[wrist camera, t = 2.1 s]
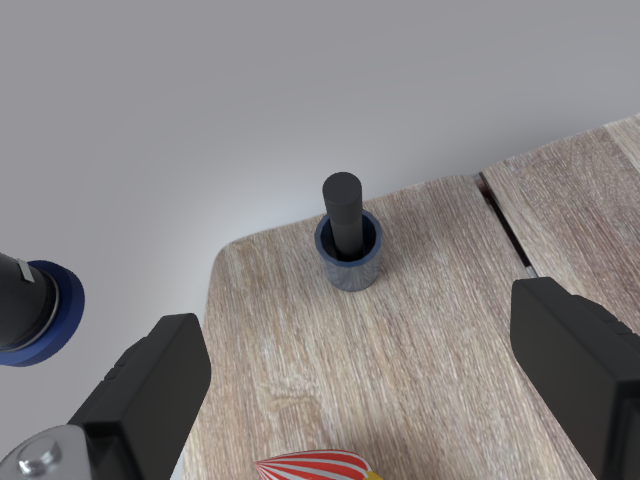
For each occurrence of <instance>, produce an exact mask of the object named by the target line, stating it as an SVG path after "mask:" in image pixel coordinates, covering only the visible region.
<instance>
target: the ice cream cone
mask: <svg viewBox="0 0 640 480" xmlns="http://www.w3.org/2000/svg"><path fill="white" fill-rule="evenodd" d="M254 465H255V467H256V469H257V471H258V473H259V474H260V476H261V478H262V480H383V479H382V478H381V477H380V476H378V475H377V474H376V473H374V472H373V471H372V470H371V468H370V466H369V464H368V463H367V462H366V461H365V460H364V459H363V458H362V457H361V456H359V455H357V454H355V453H353V452H349V451H345V450H333V449H330V450H313V451H303V452H297V453H290V454H284V455H280V456H276V457H272V458H269V459H265V460H261V461H258V462H254Z"/></svg>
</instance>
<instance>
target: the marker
mask: <svg viewBox="0 0 640 480" xmlns="http://www.w3.org/2000/svg"><path fill="white" fill-rule="evenodd" d="M323 196H324V201H325V205H326V210H327V214H328V216H329V218H330V222H331V227H332V231H333V236H334V241H335V245H336V250H337V255H338V259H339V261H343V262H353V261H357V260H361V259H362V258H363V257H364V254H363V234H362V215H361V214H362V210H363V207H362V186H361V183H360V181H359V179H358V178H357V177H356V176H354V175H353V174H351V173H347V172H339V173H335V174H333V175H331V176H330V177H328V178H327V180H326V181H325V182H324V185H323Z"/></svg>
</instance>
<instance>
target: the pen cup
mask: <svg viewBox="0 0 640 480" xmlns="http://www.w3.org/2000/svg"><path fill="white" fill-rule="evenodd" d="M361 215H362V234H363V254H364V257H363V258H362V259H361V260H357V261H353V262H343V261H339V259H338V255H337V250H336V245H335V241H334V236H333V231H332V227H331V222H330V218H329V216H328V214H326V215H325V216H324V217H323V218H322V220H321V221H320V222H319V224H318V225H317V228H316V233H315V237H314V238H315V243H316V248H317V251H318V254H319V257H320V260H321V263H322V266H323V269H324V272H325V275H326V276H327V278H328V280H329V281H330V282H331V283H332V284H333V285H334V286H335V287H337V288H338V289H340V290H343V291H348V292H356V291H360V290H363V289H365V288H367V287H369V286H370V285H371V284H372V283H373V282H374V281H375V280H376V278H377V277H378V274H379V272H380V265H381V252H382V235H383V234H382V230H381V227H380V224H379V222H378V221H377V219H376V218H375V217H374V216H373V215H372V214H371V213H370V212H368V211H366V210H364V209H363V210H362V214H361Z"/></svg>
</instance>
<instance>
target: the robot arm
mask: <svg viewBox="0 0 640 480" xmlns="http://www.w3.org/2000/svg"><path fill="white" fill-rule="evenodd" d="M61 301H62V293H61V288H60V285H59V283H58V281H57V280H56V278H55V277H54V276H53V275H51V274H50V273H48V272H46V271H43V270H41V269H37V268H34V267H32V266H29V265H27V262H25V261H23V260H20V259H18V260H16V259H14V258H12V257H9V256H7V255H5V254H2V253H0V352H5V353H9V352H16V351H20V350H23V349H25V348H27V347H29V346H31V345H33V344H34V343H35V342H37V341H38V340H39V339H41V338H42V337H43V336H44V335H45V334H46V333H47V331H48V330H49V329H50V328H51V326H52V325H53V323H54V321H55V320H56V318H57V316H58V313H59V310H60V307H61ZM510 341H511V346H512V350H513V353H514V356H515V358H516V360H517V362H518V363H519V365H520V366H521V368H522V369H523V371H524V372H525V373H526V375H527V376H528V378H529V379H530V381H531V382H532V384H533V385H534V387H535V388H536V390H537V391H538V393H539V394H540V396H541V397H542V399H543V400H544V402H545V403H546V405H547V406H548V408H549V409H550V411H551V412H552V414H553V415H554V417H555V418H556V420H557V421H558V423H559V424H560V425H561V427H562V428H563V430H564V431H565V433H566V434H567V436H568V437H569V439H570V440H571V442H572V443H573V445H574V446H575V448H576V449H577V451H578V452H579V454H580V455H581V457H582V458H583V460H584V461H585V463H586V464H587V466H588V467H589V469H590V470H591V472H592V473H593V475H594V476H595V478H596V479H597V480H640V336H638V335H637V334H636V333H632V330H631V329H630V328H629V327H627V326H626V325H625V324H624V323H622V322H621V321H619V322H618V319H617V318H616V317H615V316H614V315H612V314H611V313H610V312H609V311H607V310H606V309H605V308H604V307H603V306H601V305H600V304H597V303H595V302H593V301H591V300H588V299H586V298H584V297H582V296H579V295H571V294H570V293H569V292H567V291H566V290H565V289H564V288H563V287H562V286H560V285H559V284H558V283H557V282H556V281H555V280H554V279H552V278H551V277H539V278H530V279H520V280H515V281H514V283H513V285H512V293H511V320H510ZM210 382H211V363H210V359H209V355H208V352H207V349H206V345H205V342H204V338H203V335H202V331H201V328H200V324H199V321H198V318H197V316H196V315H195V314H194V313H186V314H177V315H167V316H163V317H162V318H161V319H160V320H159V321H158V323H157V324H156V325H155V327H154V328H153V329H152V331H151V332H150V333H149V334H148V336H147V337H143V338H142V339H140V340H139V341H138V342H137V343H135V344H134V345H132V346H131V347H130V348H128V349H127V350H126V351H125V352H124V354H123V355H122V356H121V357H120V359H119V360H118V361H117V362H116V364H115V365H114V368H112V369H111V370H110V371H109V372H108V373H107V375H106V376H105V377H104V381H101V382H100V383H99V385H98V386H97V387H96V388H95V389H94V391H93V392H92V393H91V394H90V396H89V397H88V398H87V399H86V401H85V402H84V403H83V404H82V406H81V407H80V408H79V409H78V410H77V412H76V413H75V414H74V416H73V417H72V418H71V419H70V420H69V422H68V423H67V424H66V425H60V426H56V427H53V428H49V429H47V430H44V431H42V432H40V433H38V434H36V435H34V436H32V437H30V438H29V439H27V440H25V441H24V442H23V443H21V444H20V445H18V446H17V447H16V448H15V449H13V450H12V451H11V452H10V453H9V454H8V455H7V456H6V457H5V458H4V459H3V460H2V461H1V463H0V480H170V478H171V475H172V473H173V470H174V468H175V466H176V464H177V461H178V459H179V457H180V454H181V452H182V450H183V447H184V445H185V443H186V440H187V438H188V435H189V433H190V431H191V428H192V426H193V424H194V421H195V419H196V417H197V414H198V412H199V410H200V407H201V405H202V403H203V400H204V398H205V396H206V393H207V391H208V389H209V386H210Z"/></svg>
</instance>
